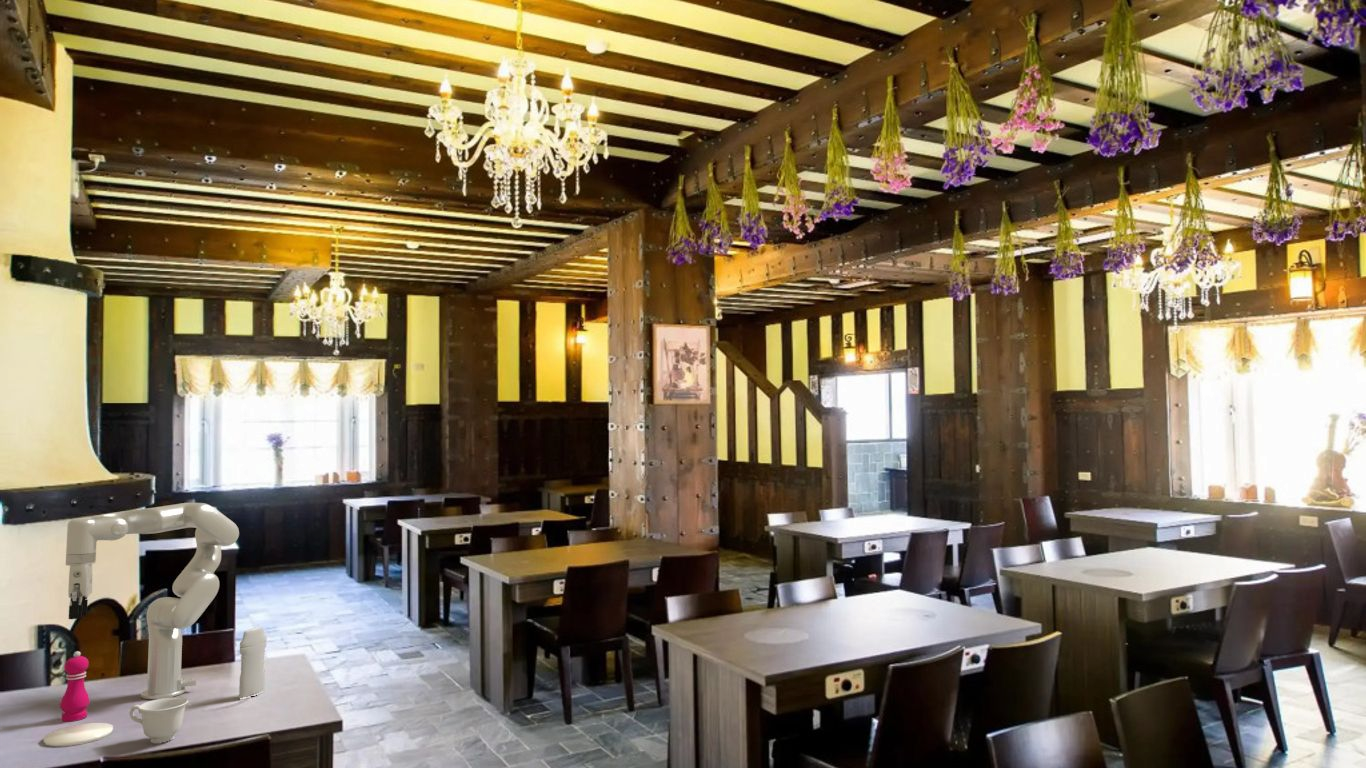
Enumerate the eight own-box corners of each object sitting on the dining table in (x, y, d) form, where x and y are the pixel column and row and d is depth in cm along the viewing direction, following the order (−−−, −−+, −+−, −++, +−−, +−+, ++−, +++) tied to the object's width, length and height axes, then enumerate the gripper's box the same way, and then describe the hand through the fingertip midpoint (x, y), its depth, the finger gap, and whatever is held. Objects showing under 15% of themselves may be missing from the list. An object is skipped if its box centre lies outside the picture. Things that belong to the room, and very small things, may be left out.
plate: (116, 723, 250) (116, 719, 250) (108, 740, 236) (108, 736, 236) (50, 732, 243) (50, 728, 243) (37, 750, 229) (38, 746, 229)
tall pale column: (243, 701, 272) (245, 631, 273) (233, 699, 273) (235, 630, 275) (269, 691, 282) (271, 625, 283) (259, 690, 283) (261, 624, 285)
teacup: (141, 733, 242) (142, 698, 242) (195, 731, 243) (196, 696, 244) (116, 748, 230) (117, 711, 230) (173, 746, 231) (174, 709, 232)
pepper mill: (73, 723, 251) (76, 654, 252) (53, 721, 253) (56, 653, 254) (94, 715, 258) (97, 649, 260) (75, 714, 260) (78, 648, 261)
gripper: (91, 561, 253) (88, 619, 251) (99, 555, 268) (97, 609, 267) (60, 563, 249) (57, 622, 248) (71, 556, 264) (68, 612, 263)
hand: (77, 615), depth 257 cm, fingers open, 9 cm apart
